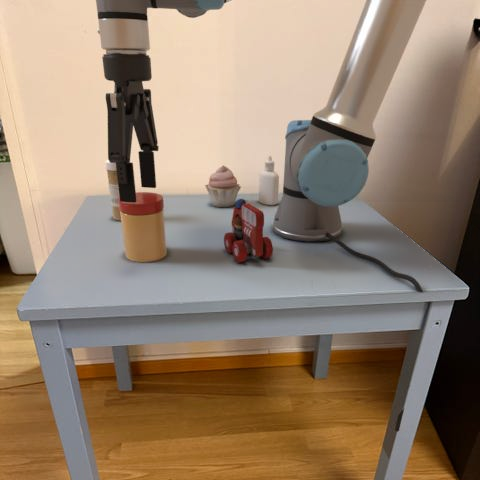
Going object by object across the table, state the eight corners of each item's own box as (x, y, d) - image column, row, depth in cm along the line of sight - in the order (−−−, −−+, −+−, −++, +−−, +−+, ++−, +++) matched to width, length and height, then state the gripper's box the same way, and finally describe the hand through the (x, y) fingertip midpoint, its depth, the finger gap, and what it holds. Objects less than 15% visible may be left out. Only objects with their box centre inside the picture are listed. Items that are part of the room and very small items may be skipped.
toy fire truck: (251, 242, 96) (252, 192, 90) (276, 263, 86) (279, 209, 80) (219, 246, 93) (219, 195, 88) (242, 268, 83) (243, 213, 78)
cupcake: (213, 211, 114) (212, 170, 109) (200, 201, 122) (199, 163, 117) (246, 207, 118) (247, 167, 113) (232, 198, 125) (232, 160, 120)
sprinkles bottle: (135, 218, 109) (129, 160, 102) (119, 222, 106) (111, 162, 99) (125, 214, 111) (118, 157, 105) (109, 218, 109) (101, 159, 102)
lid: (173, 207, 85) (172, 197, 84) (138, 217, 79) (137, 206, 79) (144, 199, 89) (143, 189, 89) (110, 208, 84) (108, 198, 83)
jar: (175, 253, 90) (171, 200, 84) (143, 265, 84) (137, 209, 79) (148, 243, 94) (143, 192, 89) (117, 254, 89) (109, 200, 83)
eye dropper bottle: (272, 199, 124) (274, 153, 118) (279, 205, 119) (281, 158, 113) (257, 200, 123) (258, 154, 117) (263, 206, 118) (264, 158, 112)
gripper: (130, 53, 82) (141, 179, 93) (69, 51, 63) (92, 209, 74) (170, 53, 81) (176, 181, 92) (120, 52, 62) (136, 212, 73)
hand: (139, 193), depth 83 cm, fingers open, 10 cm apart
